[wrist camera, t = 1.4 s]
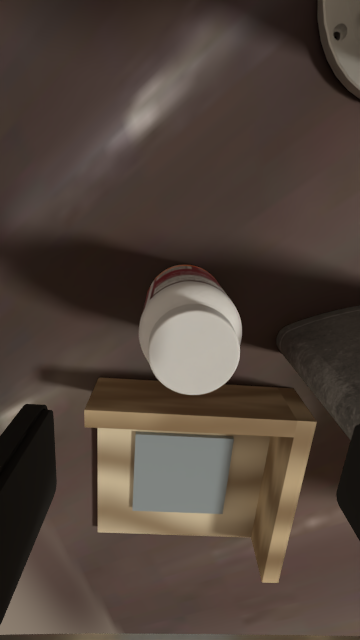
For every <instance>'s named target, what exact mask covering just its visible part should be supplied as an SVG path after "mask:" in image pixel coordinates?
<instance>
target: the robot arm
mask: <svg viewBox="0 0 360 640" xmlns="http://www.w3.org/2000/svg"><path fill="white" fill-rule="evenodd" d="M317 19H318V26H319V33H320V40H321V43H322V46H323V50H324V53H325V56H326V59H327V61H328V63H329V65H330V67H331V68H332V70H333V72H334V74H335V76H336V77H337V78H338V79H339V81H340V82H341V83H342V84H343V85H344V86H345V88H346V89H347V90H348V91H350V92H351V93H352V94H354V95H355V96H356V97H358V98H359V99H360V0H318V14H317ZM333 35H335V36H336V37H337V40H336V39H335V38H334V36H333ZM55 490H56V460H55V440H54V419H53V411H52V410H47V406H46V405H35V404H25V405H24V406H23V407H22V409H21V410H20V411H19V413H18V414H17V415H16V416H15V418H14V419H13V420H12V422H11V423H10V424H9V425H8V427H7V428H6V429H5V431H4V432H3V433H2V435H1V436H0V624H1V622H2V620H3V618H4V615H5V613H6V610H7V608H8V606H9V603H10V601H11V598H12V596H13V593H14V591H15V589H16V586H17V584H18V581H19V579H20V577H21V574H22V571H23V569H24V567H25V565H26V562H27V560H28V557H29V555H30V552H31V550H32V548H33V545H34V543H35V540H36V538H37V536H38V533H39V531H40V528H41V526H42V523H43V521H44V519H45V516H46V514H47V511H48V509H49V507H50V504H51V502H52V499H53V497H54V494H55ZM337 501H338V504H339V506H340V508H341V510H342V511H343V513H344V515H345V517H346V518H347V520H348V522H349V523H350V525H351V527H352V528H353V530H354V532H355V534H356V535H357V537H358V539H359V540H360V424H359V425H356V426H355V428H354V431H353V435H352V438H351V442H350V445H349V449H348V453H347V456H346V460H345V464H344V467H343V471H342V474H341V478H340V482H339V485H338V489H337ZM0 640H360V636H311V635H229V634H29V635H28V634H23V635H0Z"/></svg>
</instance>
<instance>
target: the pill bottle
mask: <svg viewBox="0 0 360 640" xmlns="http://www.w3.org/2000/svg"><path fill="white" fill-rule="evenodd" d="M241 339H242V323H241V319H240V316H239V313H238V311H237V309H236V307H235V305H234V304H233V302H232V301H231V299H230V298H229V297H228V295H227V294H226V293H225V291H224V290H223V289H222V287H221V286H220V285H219V283H218V282H217V280H216V279H215V278H214V277H213V276H212V275H211V274H210V273H208V272H207V271H206V270H204V269H202V268H200V267H197V266H194V265H177V266H173V267H170V268H168V269H166V270H164V271H163V272H162V273H160V274H159V275H158V276H157V277H156V278H155V280H154V281H153V282H152V284H151V286H150V288H149V290H148V293H147V296H146V300H145V304H144V308H143V312H142V315H141V318H140V324H139V341H140V346H141V349H142V351H143V354H144V356H145V357H146V359H147V361H148V362H149V364H150V367H151V369H152V371H153V373H154V375H155V376H156V378H157V379H158V380H159V381H160V382H161V383H162V384H163V385H164V386H166V387H167V388H169V389H171V390H173V391H175V392H178V393H181V394H187V395H200V394H205V393H209V392H211V391H214V390H216V389H218V388H219V387H221V386H222V385H224V384H225V383H226V382H227V381H228V380H229V379H230V378H231V376H232V375H233V373H234V372H235V370H236V368H237V365H238V362H239V358H240V344H241Z"/></svg>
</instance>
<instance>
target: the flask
mask: <svg viewBox="0 0 360 640" xmlns="http://www.w3.org/2000/svg"><path fill="white" fill-rule="evenodd" d="M276 345H277V347H278V349H279V350H280V351H281V353H282V354H283V355H284V357H285V358H286V359H287V360H288V362H289V363H290V364H291V365H292V367H293V368H294V369H295V370H296V372H297V373H298V374H299V376H300V377H301V378H302V379H303V381H304V382H305V383H306V384H307V386H308V387H309V388H310V389H311V391H312V392H313V393H314V394H315V396H316V397H317V398H318V400H319V401H320V402H321V403H322V405H323V406H324V407H325V408H326V410H327V411H328V412H329V413H330V415H331V416H332V417H333V419H334V420H335V421H336V422H337V424H338V425H339V426H340V427H341V429H342V430H343V431H344V432H345V434H346V435H347V436H348V438H349V439H350V440H351V438H352V435H353V431H354V428H355V426H356V425H359V424H360V306H354V307H349V308H344V309H339V310H335V311H331V312H327V313H323V314H320V315H316V316H313V317H309V318H306V319H303V320H300V321H298V322H295V323H292V324H290V325H287V326H285V327H284V328H282V329H281V330H280V331H279V333H278V335H277V338H276Z"/></svg>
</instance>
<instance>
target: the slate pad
mask: <svg viewBox="0 0 360 640" xmlns="http://www.w3.org/2000/svg"><path fill="white" fill-rule="evenodd" d="M233 442H234V437H233V436H218V435H198V434H177V433H156V432H136V436H135V461H134V486H133V510H132V511H153V512H180V513H207V514H223V508H224V501H225V495H226V488H227V482H228V475H229V468H230V462H231V455H232V449H233Z"/></svg>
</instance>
